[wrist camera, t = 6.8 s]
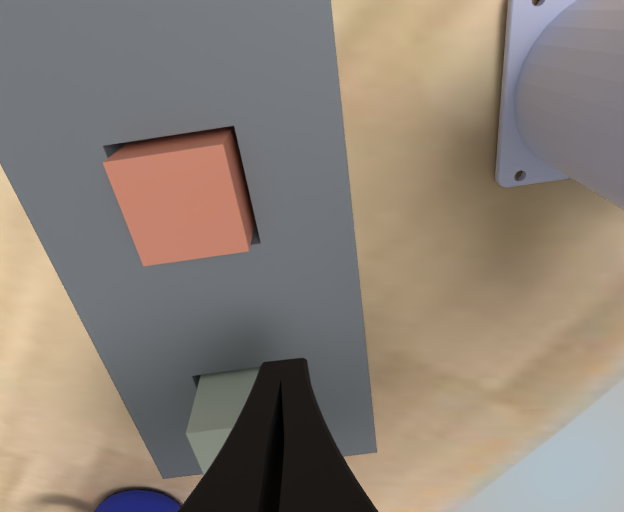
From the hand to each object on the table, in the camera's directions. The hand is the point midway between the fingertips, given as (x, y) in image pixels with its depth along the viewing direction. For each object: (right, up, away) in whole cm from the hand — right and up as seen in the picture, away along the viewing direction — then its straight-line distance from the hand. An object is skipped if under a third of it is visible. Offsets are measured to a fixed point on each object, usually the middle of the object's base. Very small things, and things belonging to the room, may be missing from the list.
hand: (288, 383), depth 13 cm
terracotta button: (-4, +8, +5) cm, 10 cm away
